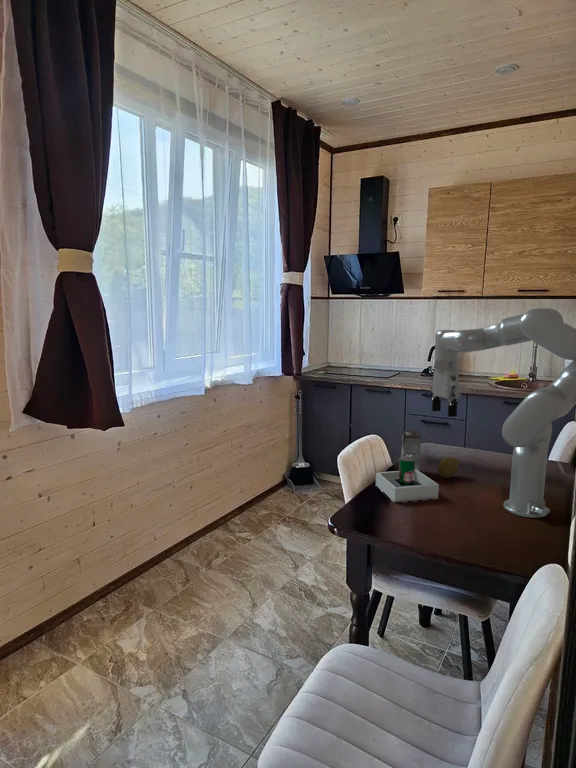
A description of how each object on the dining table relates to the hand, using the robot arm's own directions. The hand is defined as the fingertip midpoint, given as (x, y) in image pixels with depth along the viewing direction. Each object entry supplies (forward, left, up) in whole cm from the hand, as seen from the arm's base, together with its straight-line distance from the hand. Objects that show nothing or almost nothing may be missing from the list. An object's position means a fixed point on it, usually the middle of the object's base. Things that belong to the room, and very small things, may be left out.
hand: (444, 413), depth 173 cm
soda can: (-5, +16, -25) cm, 30 cm away
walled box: (-5, +16, -26) cm, 31 cm away
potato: (+5, -6, -26) cm, 27 cm away
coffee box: (+12, +6, -26) cm, 29 cm away
